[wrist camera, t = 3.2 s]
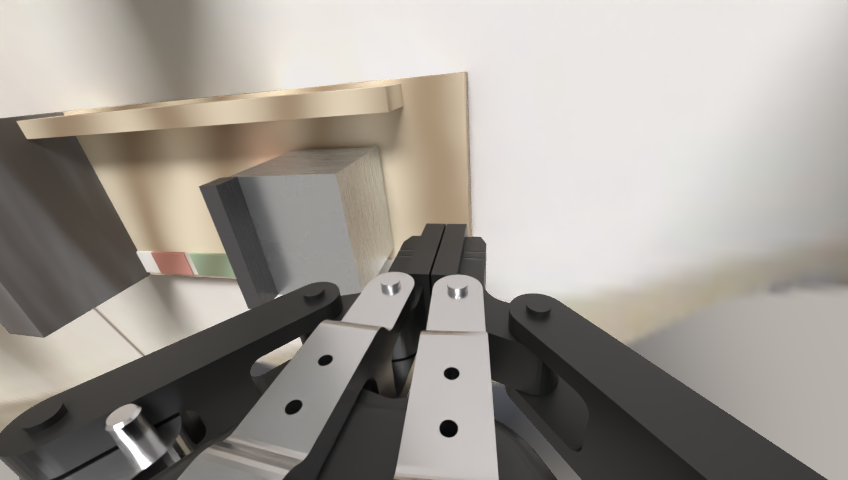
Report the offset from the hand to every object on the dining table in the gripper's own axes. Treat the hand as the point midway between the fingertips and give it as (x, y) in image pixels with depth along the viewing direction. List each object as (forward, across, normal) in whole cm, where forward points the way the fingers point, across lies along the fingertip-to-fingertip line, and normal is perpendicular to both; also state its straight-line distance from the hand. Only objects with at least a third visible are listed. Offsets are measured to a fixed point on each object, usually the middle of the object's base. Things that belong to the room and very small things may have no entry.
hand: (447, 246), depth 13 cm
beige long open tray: (+8, +14, 0) cm, 16 cm away
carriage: (+6, +7, 0) cm, 9 cm away
